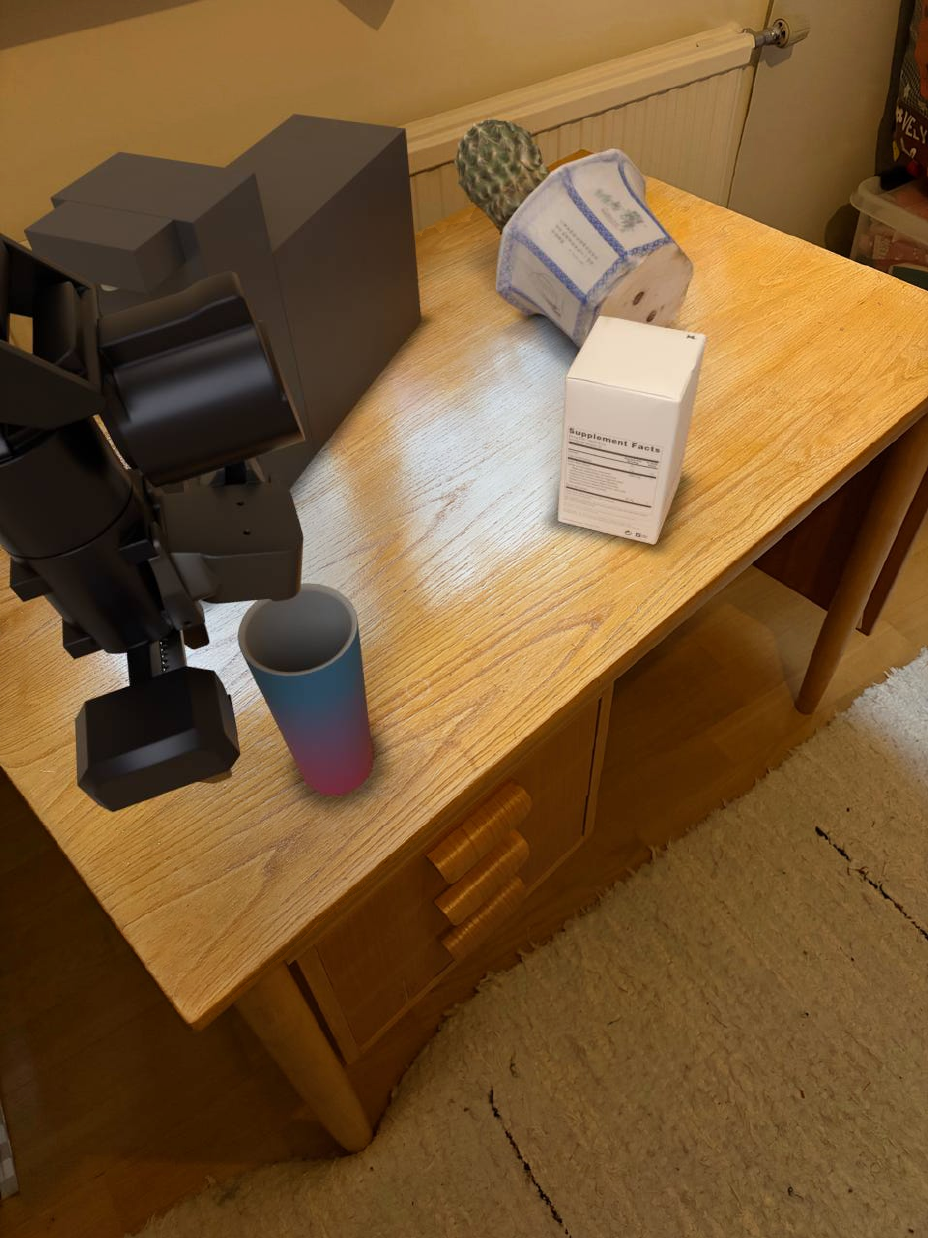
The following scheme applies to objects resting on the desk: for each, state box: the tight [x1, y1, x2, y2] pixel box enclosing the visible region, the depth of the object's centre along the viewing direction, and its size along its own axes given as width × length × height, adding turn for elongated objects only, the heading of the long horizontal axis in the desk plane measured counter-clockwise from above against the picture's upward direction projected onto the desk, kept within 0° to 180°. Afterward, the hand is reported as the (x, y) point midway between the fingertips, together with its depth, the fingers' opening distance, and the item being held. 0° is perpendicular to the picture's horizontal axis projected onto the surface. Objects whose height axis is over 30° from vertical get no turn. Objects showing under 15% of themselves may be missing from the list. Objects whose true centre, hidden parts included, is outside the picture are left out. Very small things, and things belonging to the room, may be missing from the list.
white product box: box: [557, 316, 708, 545], centre depth 71 cm, size 9×9×15 cm
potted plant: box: [453, 117, 694, 350], centre depth 91 cm, size 18×18×30 cm
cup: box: [237, 582, 374, 797], centre depth 55 cm, size 7×7×15 cm
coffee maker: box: [23, 113, 422, 491], centre depth 78 cm, size 37×12×26 cm, turn 158°
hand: (211, 707), depth 48 cm, fingers open, 9 cm apart
